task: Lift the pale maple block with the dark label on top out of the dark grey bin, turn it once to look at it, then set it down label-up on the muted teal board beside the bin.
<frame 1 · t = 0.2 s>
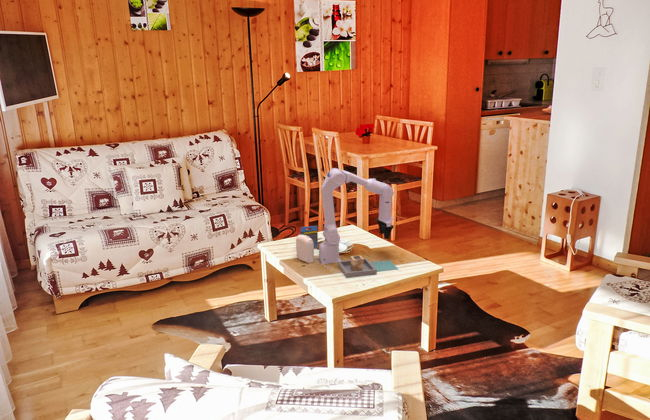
hand: (384, 236, 248), 10 cm above the table, tool pointing down, fingers open, 7 cm apart
teal board: (383, 266, 238), on the table
label tape cartridge: (308, 248, 262), on the table
maple block: (356, 269, 233), resting on parts bin
parts bin: (356, 270, 234), on the table
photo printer: (305, 260, 247), on the table
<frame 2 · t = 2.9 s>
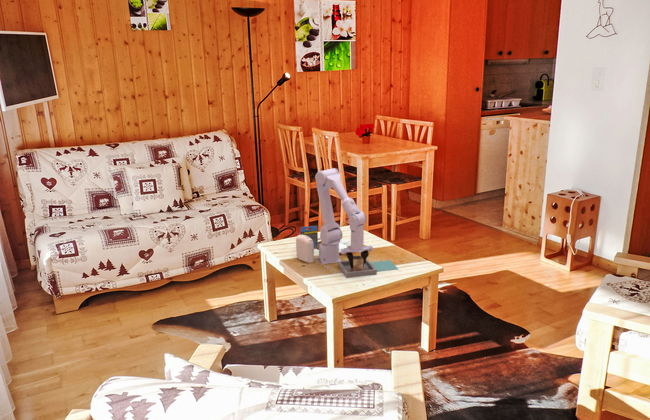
hand: (356, 267, 233), 2 cm above the table, tool pointing down, fingers closed on maple block, 4 cm apart
maple block: (356, 269, 233), resting on parts bin, touching gripper
everything else where it was.
when the fingers open (3 cm above the table, at t = 8.4 s): maple block stays where it is, resting on teal board.
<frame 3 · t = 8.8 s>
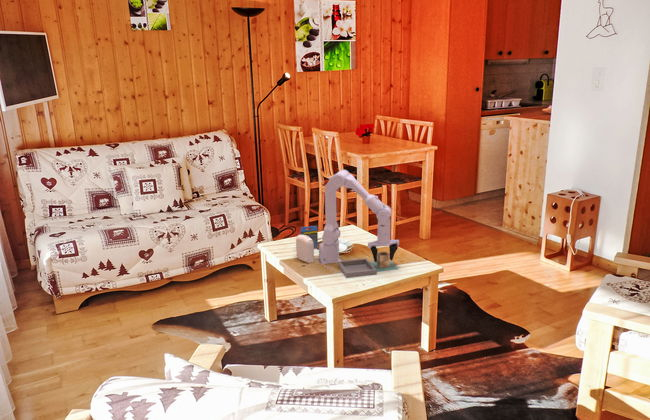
hand: (383, 260, 237), 3 cm above the table, tool pointing down, fingers open, 7 cm apart
maple block: (383, 265, 237), resting on teal board
everything else where it was.
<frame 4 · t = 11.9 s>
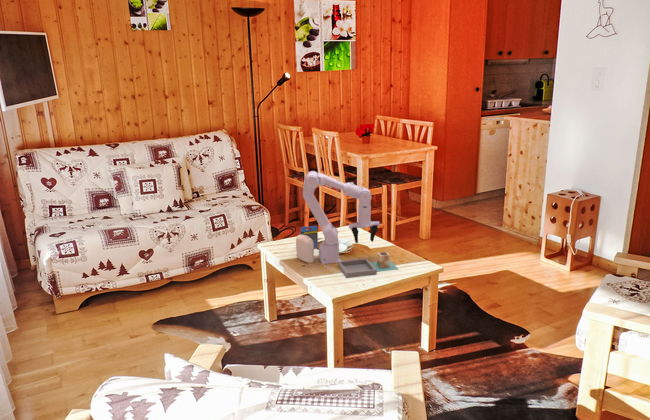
hand: (364, 241, 243), 9 cm above the table, tool pointing down, fingers open, 7 cm apart
nothing on the table moved.
at the end: maple block 0.1 cm off-centre on the teal board, point 0.5 cm above the teal board's base; maple block tilted 0°; the gripper is holding nothing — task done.
